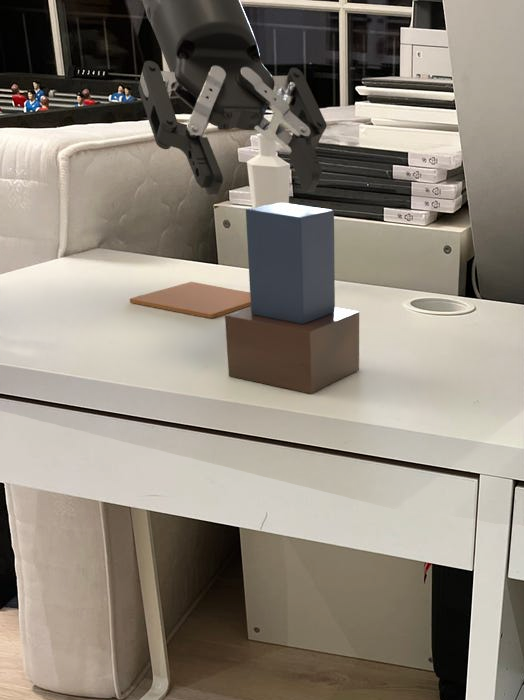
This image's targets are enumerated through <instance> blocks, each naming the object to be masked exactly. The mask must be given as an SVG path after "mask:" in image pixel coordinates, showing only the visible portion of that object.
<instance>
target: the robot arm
mask: <svg viewBox="0 0 524 700" xmlns="http://www.w3.org/2000/svg"><path fill="white" fill-rule="evenodd" d="M141 1H142V4H143V7H144V10H145V14H146V18H147V19H148V22H149V23H150V25H151V27H152V30H153V33H154V35H155V38H156V40H157V43H158V45H159V48H160V50H161V53H162V55H163V57H164V60H165V62H166V65H167V68H168V70H169V71H167V70H161V68H160V66H159V64H158V63H156V62H155V61H153V60H146V61H144V63H143V67H142V70H141V75H140V80H139V83H138V92H139V94H140V98H141V101H142V105H143V107H144V111H145V114H146V116H147V119H148V123H149V125H150V129H151V131H152V135H153V138H154V141H155V143H156V145H157V146H158V147H159V148H160V149H161V150H170V149H171V148H176V149H178V150H180V151H181V153H182V154H183V155H184V156H185V157H186V159H187V162H188V164H189V167H190V169H191V171H192V174H193V176H194V179H195V181H196V183H197V185H199V187H200V188H201V189H203V188H204V189H205V192H206V193H207V195H209V196H211V195H212V196H214V195H215V196H217V195H219V193H220V190H221V187H222V185H223V181H224V178H223V173H222V171H221V168H220V166H219V164H218V162H217V158H216V155H215V153H214V150H213V148H212V146H211V143H210V141H209V138H208V137H207V136H204V135H205V134H206V131H207V128H208V126H209V124H211V125H212V126H215V127H217V129H218V131H229V130H233V129H239V130H243V131H254V130H256V131H257V132H258V134H262V135H263V136H264V137H265V138H267V139H268V140H270V141H272V140H276V143H278V144H279V145H280V146H282V148H284V149H285V150H286V151H288V152H289V156H288V157H289V160H290V162H291V165H292V167H293V169H294V172H295V174H296V177H297V179H298V182H299V184H300V186H301V189H302V191H303V192H304V193H313V192H315V190H316V188H317V185H318V184H319V182H320V179H321V177H322V174H323V167H322V165H321V163H320V160H319V159H318V156H317V153H316V151H315V149H317V148H318V146H319V144H320V140H321V138H322V136H323V134H324V133H325V131H326V129H327V125H328V123H327V122H326V119H325V117H324V115H323V114H322V112H321V109H320V106H319V105H318V103H317V101H316V99H315V96H314V94H313V92H312V90H311V88H310V86H309V84H308V82H307V80H306V78H305V75H304V74H303V72H302V71H301V70H300V69H299V68H297V67H291V68H290V69H289V71H288V74H287V75H273V74H271V72H270V71H269V70H268V69H267V68H266V67H265V66H264V64H263V62H262V59H261V56H260V55H261V54H260V50H259V46H258V42H257V40H256V37H255V35H254V31H253V29H252V27H251V25H250V21H249V20H248V17H247V15H246V13H245V10H244V8H243V5H242V2H241V0H141ZM172 92H174V94H175V95H176V96H177V97H178V98H179V99H180V100H182V101H183V102H184V103H185V104H186V105H187V106H189V108H191V109H192V112H191V114H190V117H189V120H188V122H187V123H186V124H185V123H182V122H179V121H178V119H177V116H176V113H175V110H174V107H173V104H172V101H171V94H172ZM268 108H270V110H271V112H272V117H271V120H268V119H267V118H266V117H265V114H266V111H267V109H268ZM284 127H285V128H286V129H288V130H289V131H290V132H291V133H292V134H291V133H290V132H289V131H288V130H286V129H285V128H284Z"/></svg>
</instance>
